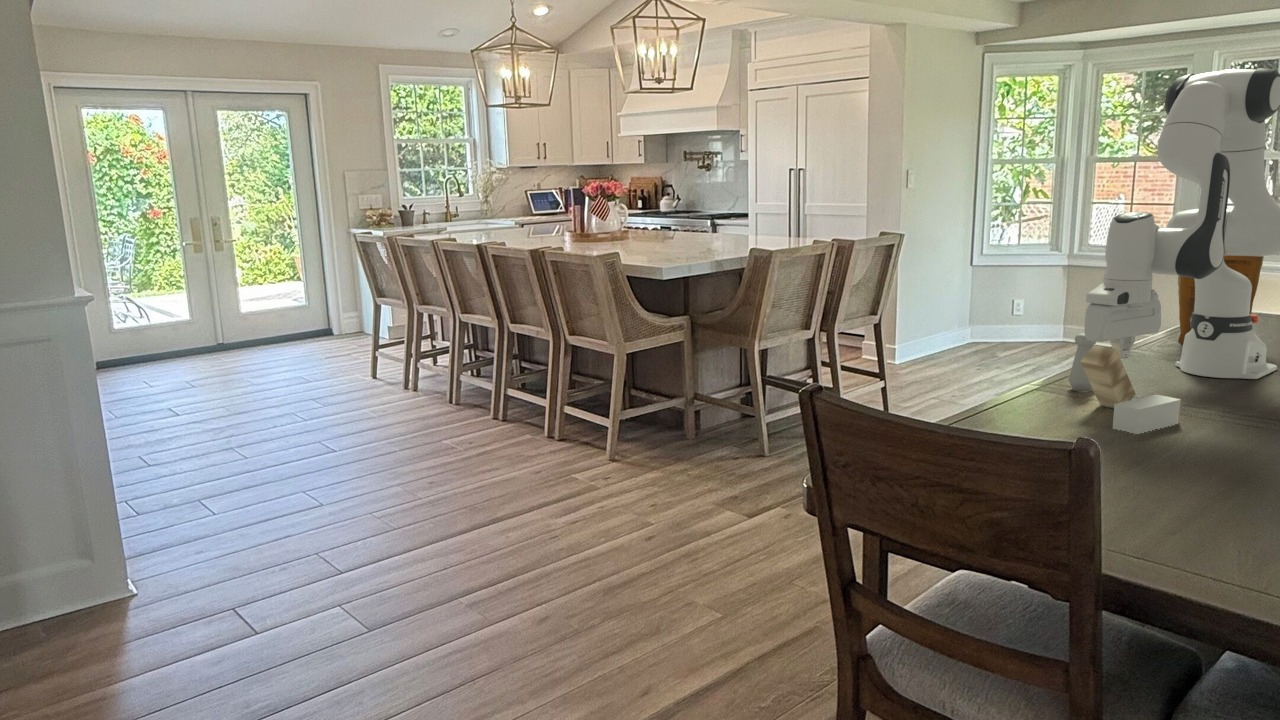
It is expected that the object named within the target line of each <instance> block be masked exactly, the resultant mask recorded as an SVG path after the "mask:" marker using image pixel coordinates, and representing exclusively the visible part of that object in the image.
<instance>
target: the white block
mask: <svg viewBox="0 0 1280 720" xmlns="http://www.w3.org/2000/svg"><path fill="white" fill-rule="evenodd" d="M1181 405H1182V399H1181V398H1176V397H1171V396H1167V395H1162V394H1157V393H1156V394H1152V395H1147V396H1143V397H1140V398H1139V397H1137V398H1134V399H1131V400H1130V401H1125V402H1121V403H1117V404H1114V409H1113V420H1112V429H1113V430H1116V429H1117V431H1120V430H1122V431H1121V432H1123V431H1127V432H1130V433H1129V434H1131V433H1134V434H1133V435H1135V434H1139V435H1141V434H1140V433H1142V434H1145V433H1144V432H1146V433H1149V432H1148V431H1150V432H1153V431H1152V430H1154V431H1156V430H1155V429H1158V430H1161V429H1160V428H1162V429H1165V428H1164V427H1166V428H1169V427H1173V426H1176V425H1175V424H1177V425H1179V424H1180V420H1181V419H1180V418H1181ZM1178 423H1179V424H1178ZM1172 425H1173V426H1172ZM1168 426H1169V427H1168ZM1127 432H1126V433H1127Z"/></svg>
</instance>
